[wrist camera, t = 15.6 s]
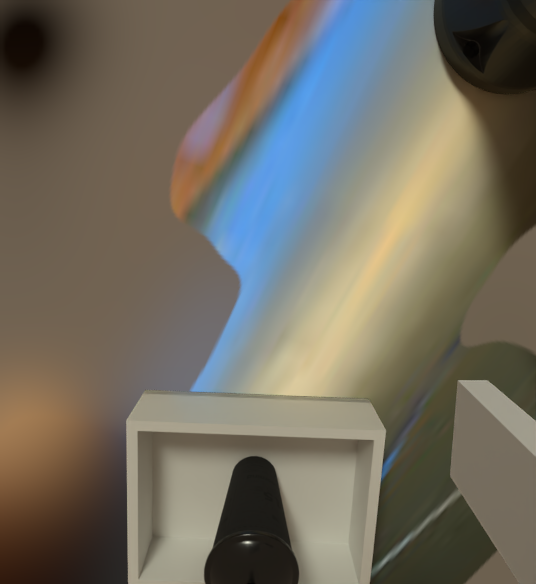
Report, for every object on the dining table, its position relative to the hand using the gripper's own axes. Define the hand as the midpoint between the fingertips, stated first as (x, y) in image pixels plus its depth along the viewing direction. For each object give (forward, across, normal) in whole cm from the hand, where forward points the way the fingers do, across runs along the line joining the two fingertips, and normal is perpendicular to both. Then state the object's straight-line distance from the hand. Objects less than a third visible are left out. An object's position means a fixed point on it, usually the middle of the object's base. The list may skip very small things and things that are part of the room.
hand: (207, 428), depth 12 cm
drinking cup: (+34, 0, -24) cm, 41 cm away
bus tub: (+35, 0, -24) cm, 42 cm away
